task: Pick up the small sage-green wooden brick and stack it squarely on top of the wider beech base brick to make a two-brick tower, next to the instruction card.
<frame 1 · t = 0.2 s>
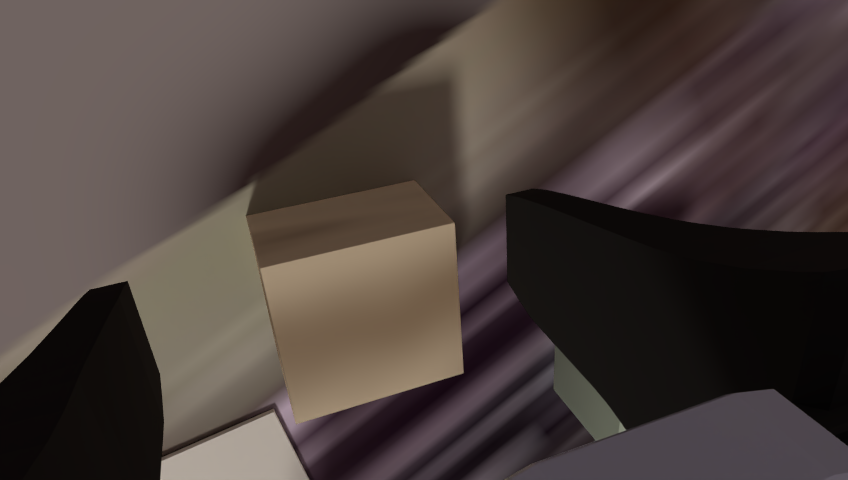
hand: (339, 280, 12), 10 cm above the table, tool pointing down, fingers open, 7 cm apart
beech base brick: (343, 268, 24), on the table
sage brick: (591, 343, 30), on the table
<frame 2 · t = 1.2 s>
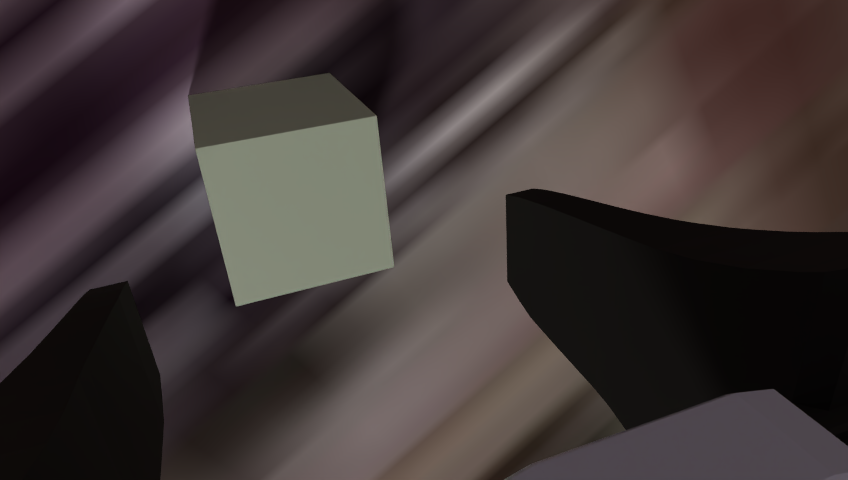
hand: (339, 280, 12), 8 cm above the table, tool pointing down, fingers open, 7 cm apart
sage brick: (273, 149, 19), on the table
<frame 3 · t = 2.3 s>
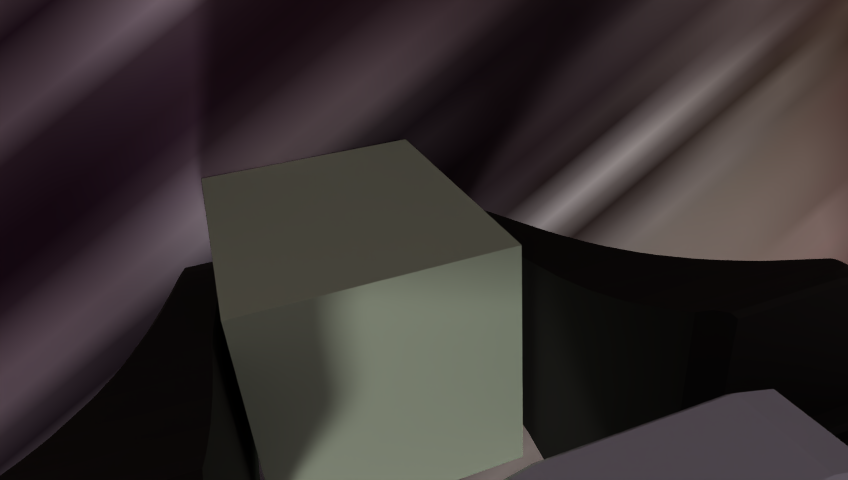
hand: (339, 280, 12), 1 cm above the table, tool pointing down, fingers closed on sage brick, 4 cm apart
sage brick: (323, 248, 13), on the table, touching gripper
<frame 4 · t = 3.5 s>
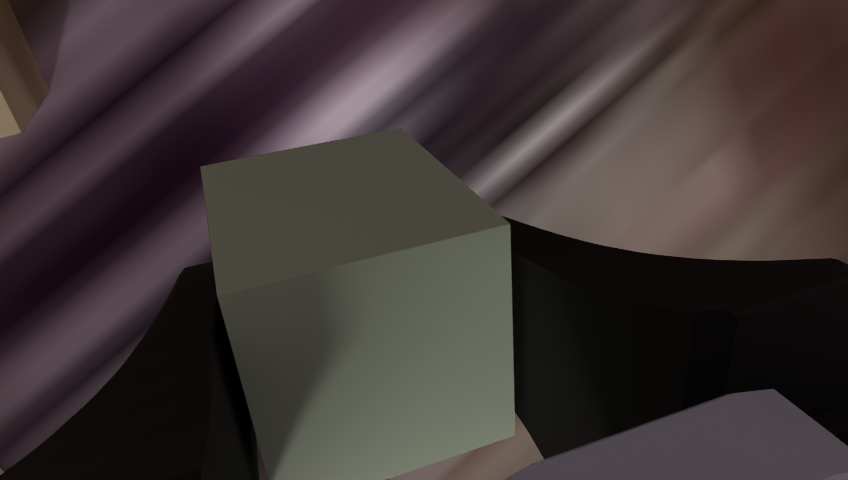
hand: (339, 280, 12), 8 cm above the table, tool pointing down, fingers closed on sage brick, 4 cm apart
sage brick: (320, 235, 14), point 7 cm above the table, touching gripper
when the fingers open (7 cm above the table, at t = 4.7 s): sage brick drops 1 cm, resting on beech base brick.
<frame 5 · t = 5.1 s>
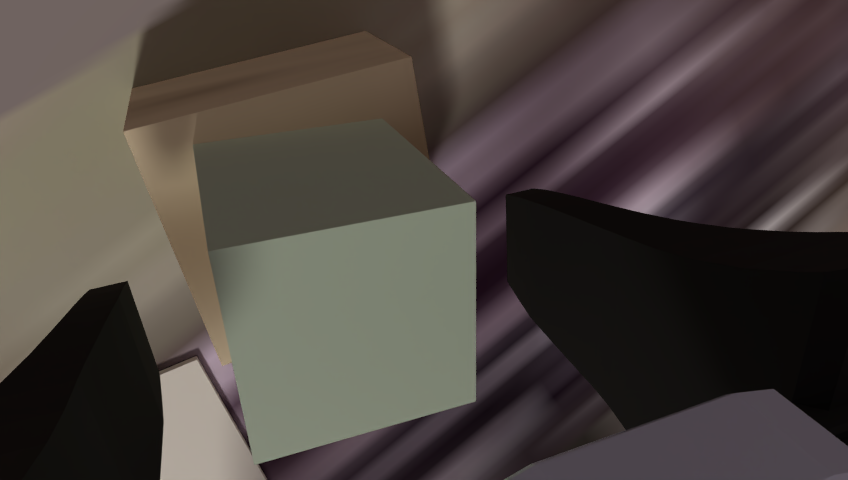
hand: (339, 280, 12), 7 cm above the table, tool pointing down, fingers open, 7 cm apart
beech base brick: (284, 163, 18), on the table, touching sage brick
sage brick: (303, 216, 14), point 4 cm above the table, touching beech base brick
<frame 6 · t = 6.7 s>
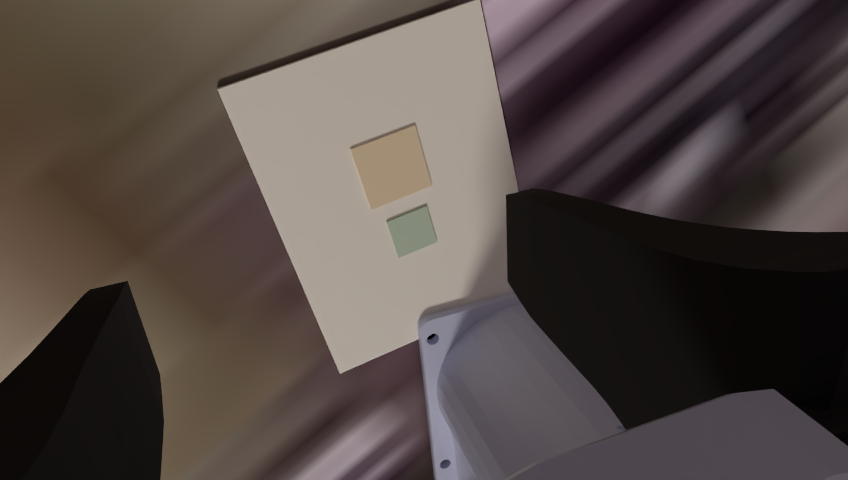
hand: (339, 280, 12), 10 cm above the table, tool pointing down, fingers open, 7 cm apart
instruction card: (401, 201, 24), on the table
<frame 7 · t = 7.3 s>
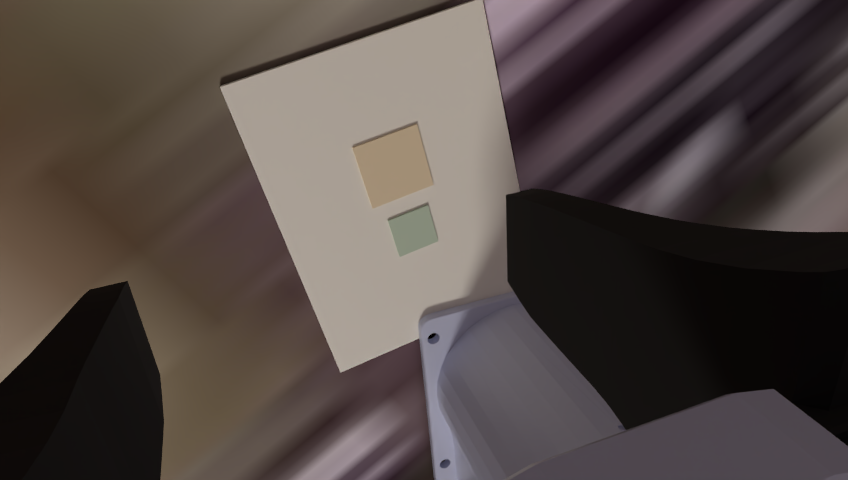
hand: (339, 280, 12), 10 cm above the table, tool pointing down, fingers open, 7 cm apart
instruction card: (403, 200, 24), on the table
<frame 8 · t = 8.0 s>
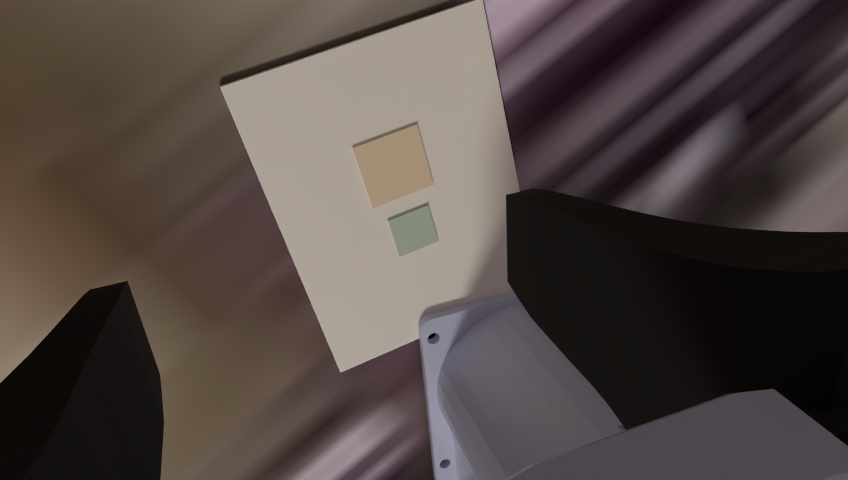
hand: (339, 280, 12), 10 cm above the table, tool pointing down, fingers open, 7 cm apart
instruction card: (403, 200, 24), on the table
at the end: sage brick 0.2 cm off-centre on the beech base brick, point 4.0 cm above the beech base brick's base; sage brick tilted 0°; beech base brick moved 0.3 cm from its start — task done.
